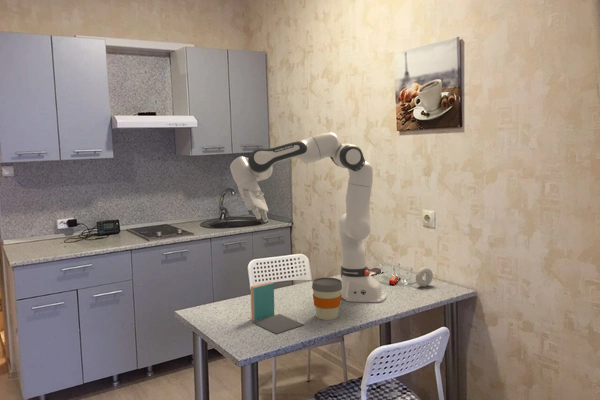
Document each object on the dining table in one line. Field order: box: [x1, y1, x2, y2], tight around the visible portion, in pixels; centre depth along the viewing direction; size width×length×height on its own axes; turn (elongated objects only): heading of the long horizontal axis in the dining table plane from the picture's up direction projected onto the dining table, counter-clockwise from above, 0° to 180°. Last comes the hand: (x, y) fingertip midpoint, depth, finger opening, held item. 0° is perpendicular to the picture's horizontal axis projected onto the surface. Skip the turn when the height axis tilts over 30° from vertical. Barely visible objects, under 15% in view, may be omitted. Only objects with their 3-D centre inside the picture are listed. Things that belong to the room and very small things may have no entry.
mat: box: [252, 313, 305, 335], centre depth 202 cm, size 16×14×1 cm
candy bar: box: [388, 275, 399, 286], centre depth 260 cm, size 16×4×3 cm, turn 158°
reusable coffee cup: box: [311, 276, 342, 321], centre depth 210 cm, size 13×13×15 cm
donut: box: [415, 266, 434, 288], centre depth 250 cm, size 10×4×10 cm, turn 117°
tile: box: [250, 281, 275, 322], centre depth 209 cm, size 2×10×14 cm, turn 130°
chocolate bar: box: [369, 267, 382, 277], centre depth 277 cm, size 9×1×18 cm
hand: (262, 219), depth 215 cm, fingers open, 8 cm apart
